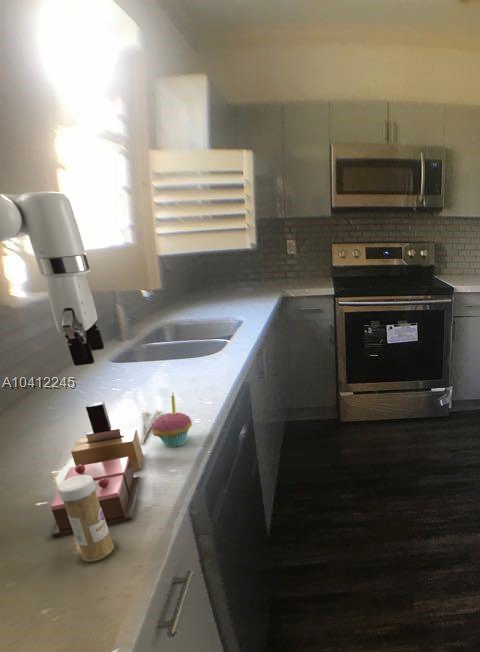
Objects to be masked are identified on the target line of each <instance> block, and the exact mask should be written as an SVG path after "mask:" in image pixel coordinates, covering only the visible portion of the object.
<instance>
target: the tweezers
mask: <svg viewBox="0 0 480 652" xmlns="http://www.w3.org/2000/svg"><path fill="white" fill-rule="evenodd" d="M161 413H162V410H161V409H160V410H159V409H158V410H157V409H155V413H154V415H153V416H152V418H151V420H150V421H149V424H148V426H147V425H146V416H148V415H149V411H146V412H141V415H142V437H141V438H142V439H141V445H143V444H144V442H145V441H146V437H147V435H148V432H149V431H150V428H152V424H153V423H154V422H155V420H157V418H158V416H159V415H160V414H161ZM146 426H147V427H146Z"/></svg>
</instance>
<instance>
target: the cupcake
mask: <svg viewBox="0 0 480 652" xmlns="http://www.w3.org/2000/svg"><path fill="white" fill-rule="evenodd" d="M175 398H176V397H175V395H174V392H172V395H171V397H170V400H171V412H167V413H164V414H163V415H161V416H160V417H157V418H156V419H155V420H154V421H153V423H152V425H151V433H152V435H153V436H154V437H158V438H159V439H160V440H161V441H162V443H163V445H164V446H165V447H167V448H176V447H179V446H182V445H184V444H185V443H186V442H187V440H188V433H189V430H190V429H191V427H192V425H193V422H192V418H191V417H190V416H189V415H187V414H186V413H183V412H177V411H176V401H175V400H176V399H175Z"/></svg>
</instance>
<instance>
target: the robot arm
mask: <svg viewBox="0 0 480 652" xmlns="http://www.w3.org/2000/svg"><path fill="white" fill-rule="evenodd" d="M77 221H78V220H77V218H76V213H75V209H74V206H73V203H72V200H71V198H70V196H69V195H67V194H66V193H64V192H60V191H30V192H24V193H21V194H12V193H11V194H9V193H0V242H5V241H9V240H11V239H14V238H19V237H24V236H28V238H29V241H30V245H31V248H32V251H33V254H34V258H35V260H36V261H35V262H36V264H37V267H38V270H39V273H40V277H41V278H43V279H44V278H45V283H46V289H47V290H46V291H47V295H48V299H49V304H50V307H51V312H52V315H53V319H54V323H55V327H56V331H58V332H59V333H60V334H64V333H65V334H64V338H66V344H67V347H68V349H69V353H70V356H71V359H72V362H73V365H74V366H76V367H79V366H85V365H86V366H87V365H93V364H94V363H95V359H94V355H93V351H99V350H104V348H105V344H104V341H103V337H102V334H101V330H100V329H99V324H98V322H97V321H98V313H97V308H96V305H95V301H94V298H93V294H92V291H91V288H90V284H89V281H88V279H87V276H86V275H87V274H90V273H91V269H90V266H89V262H88V258H87V254H86V249H85V247H84V243H83V239H82V236H81V232H80V228H79V224H78V222H77Z"/></svg>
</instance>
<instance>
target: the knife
mask: <svg viewBox="0 0 480 652" xmlns="http://www.w3.org/2000/svg"><path fill="white" fill-rule="evenodd" d="M85 410H86V413H87V416H88V419H89V424H90V426H91V430H92V432H87V433H85V437H87V439H88V442H89V443H94V442H100V441H106V440H112V439H117V438H122V437H121V433H120V431H121V429H120V427H115V428H112V425H111V421H110V418H109V414H108V410H107V407H106V404H105V401H100V402H94V403H87V404H86V406H85Z"/></svg>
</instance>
